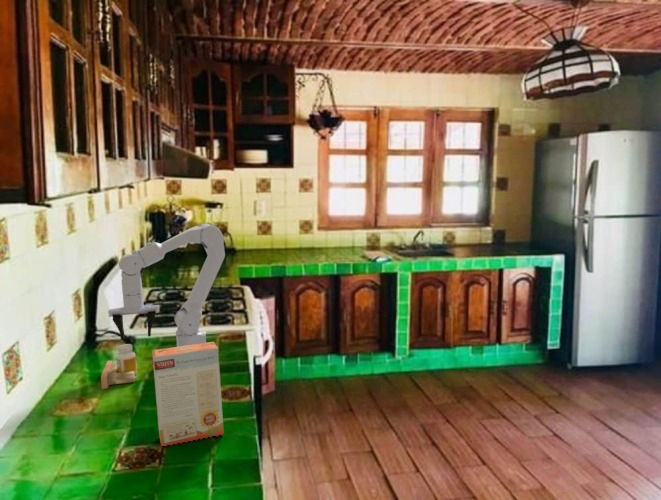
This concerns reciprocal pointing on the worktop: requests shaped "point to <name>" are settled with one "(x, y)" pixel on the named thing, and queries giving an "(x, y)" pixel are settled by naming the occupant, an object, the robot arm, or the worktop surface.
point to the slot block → (120, 376)
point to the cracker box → (188, 393)
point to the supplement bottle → (126, 359)
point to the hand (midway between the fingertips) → (136, 336)
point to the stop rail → (106, 374)
